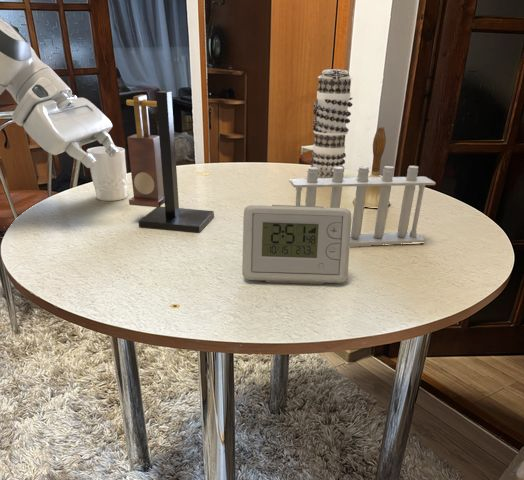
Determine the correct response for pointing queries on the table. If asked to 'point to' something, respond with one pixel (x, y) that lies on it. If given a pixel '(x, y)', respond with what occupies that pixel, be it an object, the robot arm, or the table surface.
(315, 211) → the digital clock
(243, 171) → the table surface
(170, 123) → the stand
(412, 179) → the test tube rack
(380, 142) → the hand bell
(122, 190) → the white cup
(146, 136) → the clock
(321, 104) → the white patterned cylinder
